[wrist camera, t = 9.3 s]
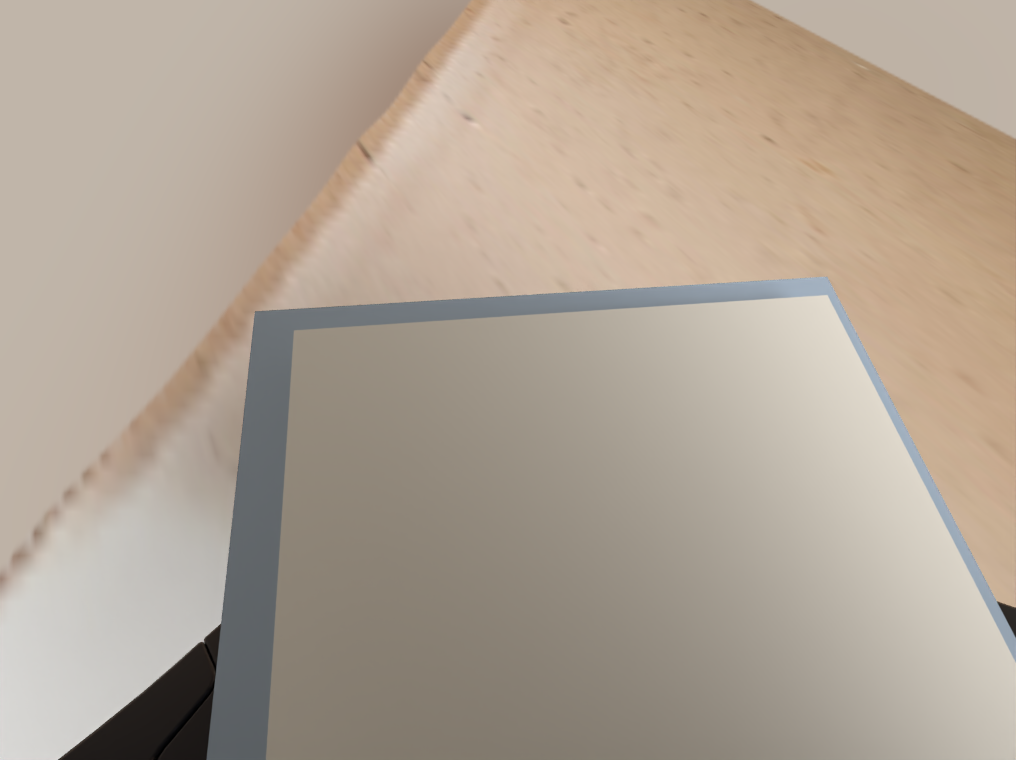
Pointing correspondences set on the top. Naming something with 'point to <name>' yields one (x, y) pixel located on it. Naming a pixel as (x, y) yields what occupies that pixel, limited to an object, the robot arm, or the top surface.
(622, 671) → the slate block
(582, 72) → the top surface
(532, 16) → the top surface
